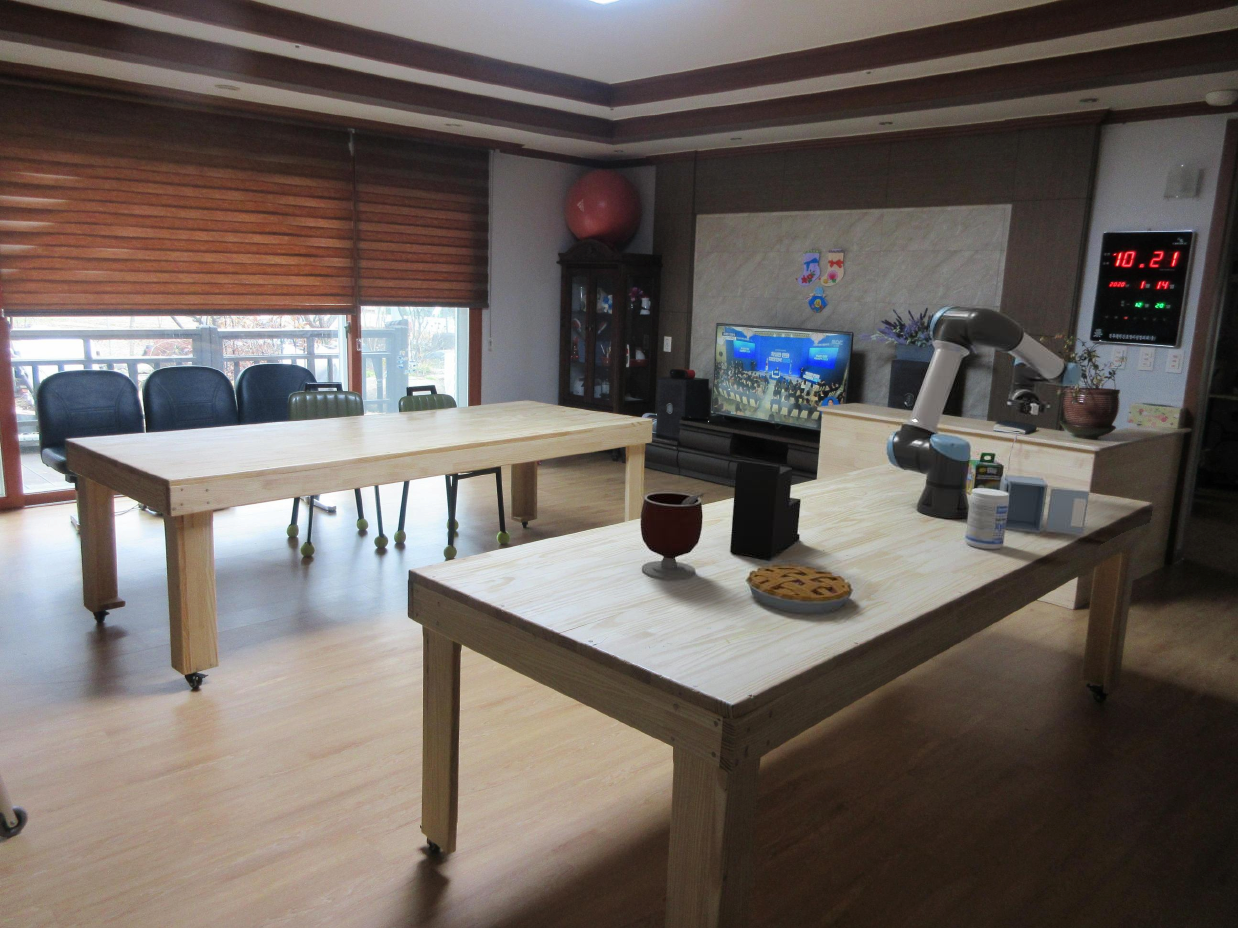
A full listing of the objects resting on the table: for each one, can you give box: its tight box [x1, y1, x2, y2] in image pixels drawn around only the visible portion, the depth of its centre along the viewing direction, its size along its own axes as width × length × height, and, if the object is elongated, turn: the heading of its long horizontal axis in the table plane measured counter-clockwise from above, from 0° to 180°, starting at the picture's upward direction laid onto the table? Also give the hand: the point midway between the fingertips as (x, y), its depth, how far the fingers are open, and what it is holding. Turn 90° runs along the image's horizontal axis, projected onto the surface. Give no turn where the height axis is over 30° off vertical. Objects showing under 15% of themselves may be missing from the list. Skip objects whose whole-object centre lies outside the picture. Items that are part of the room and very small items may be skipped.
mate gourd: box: [640, 491, 705, 581], centre depth 200 cm, size 16×14×20 cm
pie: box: [745, 564, 854, 615], centre depth 188 cm, size 22×22×5 cm
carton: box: [1000, 474, 1048, 534], centre depth 257 cm, size 11×10×14 cm
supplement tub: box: [964, 488, 1009, 550], centre depth 235 cm, size 10×10×15 cm
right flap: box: [1045, 487, 1090, 536], centre depth 249 cm, size 10×1×12 cm, turn 77°
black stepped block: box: [729, 459, 802, 561], centre depth 224 cm, size 23×11×24 cm, turn 151°
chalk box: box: [966, 452, 1005, 496], centre depth 297 cm, size 9×9×15 cm
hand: (1035, 410), depth 271 cm, fingers closed
